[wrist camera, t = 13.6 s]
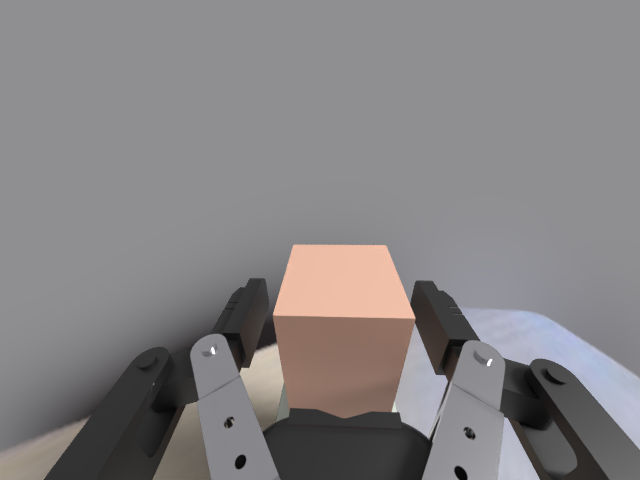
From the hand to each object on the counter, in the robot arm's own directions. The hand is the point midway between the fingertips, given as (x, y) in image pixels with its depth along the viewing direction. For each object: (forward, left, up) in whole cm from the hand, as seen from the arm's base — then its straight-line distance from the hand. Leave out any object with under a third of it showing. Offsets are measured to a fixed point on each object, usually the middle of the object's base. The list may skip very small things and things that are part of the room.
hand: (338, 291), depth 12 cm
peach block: (-1, -2, -9) cm, 9 cm away
